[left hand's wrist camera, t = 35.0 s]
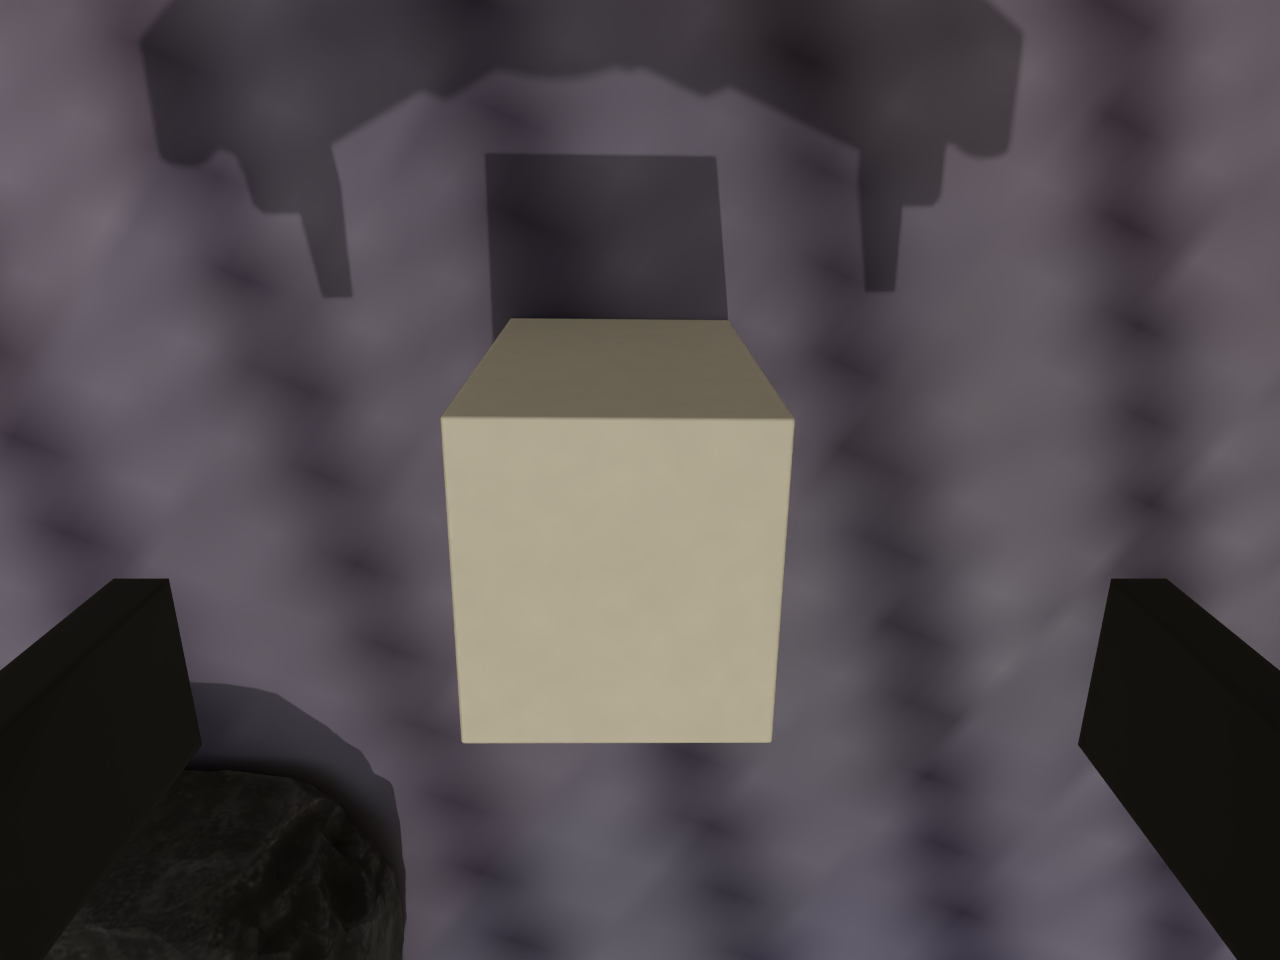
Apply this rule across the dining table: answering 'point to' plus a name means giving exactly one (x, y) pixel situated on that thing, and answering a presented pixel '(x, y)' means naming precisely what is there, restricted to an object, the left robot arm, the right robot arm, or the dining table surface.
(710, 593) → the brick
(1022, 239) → the dining table surface
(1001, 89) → the dining table surface
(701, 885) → the dining table surface
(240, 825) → the rock
